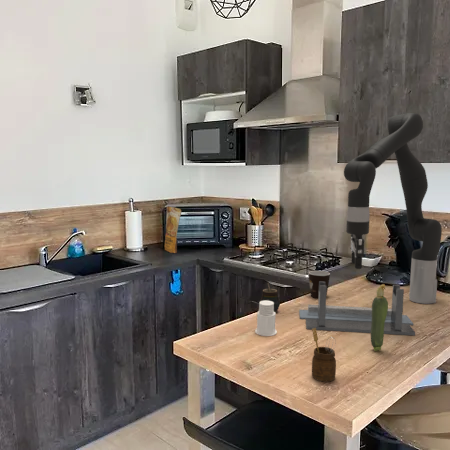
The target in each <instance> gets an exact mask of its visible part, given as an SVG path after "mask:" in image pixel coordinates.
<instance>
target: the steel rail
mask: <svg viewBox="0 0 450 450" xmlns="http://www.w3.org/2000/svg"><path fill="white" fill-rule="evenodd" d="M307 310H308V315H315V316H318V304H307ZM391 311H392V308H388V311H387V316H386V319H388V320H391ZM325 316H334V317H352V318H370V319H372V307H367V306H366V307H364V306H363V307H362V306H345V305H327V304H326V314H325Z"/></svg>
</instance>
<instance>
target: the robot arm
mask: <svg viewBox="0 0 450 450" xmlns="http://www.w3.org/2000/svg"><path fill="white" fill-rule="evenodd" d="M423 127H424V121H423V118H422V116H421V115H420V114H419V113H416V112H407V113H402V114H401V113H400V114H396V115H392V116H390V118H389V119H388V122H387V129H388V130H387V131H388V135H387V136H384V137H383V138H381V139H379V140H377V141H376V142H375V143H373V144H372V145H371V146H370V147H369V148H368V149H367V150H366V151H364V152H363V153H362V154H360V155H358V156H355V157H354V158H352V159H351V160H350V161H348V162H347V163H346V165H345V167H344V168H343V176H344V178H345V180H346V181H348V182H351V183H359V184H358V186H357V188H353V189H351V190H349V191H348V195H347V210H346V211H347V212H346V226H345V227H346V231H345V232H346V233H347V234H350V247H349V248H350V252H351V263H352V264H354V268H355V269H356V270H362V267H363V258H364V257H365V239H364V238H363V235H368V234H369V232H370V217H371V216H370V213H371V211H370V195H371V191H372V189H373V185H374V182H375V179H376V173H377V168H380V167H381V165H383V164H384V163H385V162H386V161H387V160H388V159H389V157H391V156H392V155H393V154H394V155H395V159H396V163H397V168H398V172H399V179H400V184H401V188H402V193H403V196H404V204H405V210H406V217H407V218H406V219H407V220H406V221H407V230H408V232H409V236H410V238H411V239H412V240H414V241H417V242H422V245H421V247H420V248H418V249H414V250H413V251H412V252H411V264H410V280H409V294H408V297H409V298H408V300H409V301H411V302H413V303H417V304H423V305H424V304H427V305H428V304H436V303H437V292H438V291H437V288H438V279H437V267H438V266H437V263H438V256H439V253H440V250H441V239H442V234H443V233H442V230H443V229H442V224H441V223H440V221H439V220H437V219H432V218H425V217H424V215H423V214H424V213H423V209H422V208H423V207H422V205H423V201H424V199H425V196H426V194H427V191H428V187H429V185H428V184H429V183H428V177H427V172H426V169H425V167H424V166H423V164H422V163H421V162H420V161H419V160H418V158H417V157H416V156H415V155H414V154H413V153H412V150H411V149H410V148H409V145H408V143H409V142H411V141H412V140H414V139H415V138H417V137H418V136H419V135H421V134H422V131H423Z"/></svg>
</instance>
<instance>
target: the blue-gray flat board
mask: <svg viewBox="0 0 450 450" xmlns="http://www.w3.org/2000/svg"><path fill="white" fill-rule="evenodd" d="M298 312H299V320H306V318H307V319H318V316H315V315H308V309H299V311H298ZM325 319H326V320H344V321H362V322H372V319H370V318H352V317H334V316H325ZM385 323H391V320H388V319H385ZM402 324H409V325H410V326H414V322H413V321H412V320H411V319H410V317H409V316H408V315H407V314H402Z"/></svg>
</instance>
